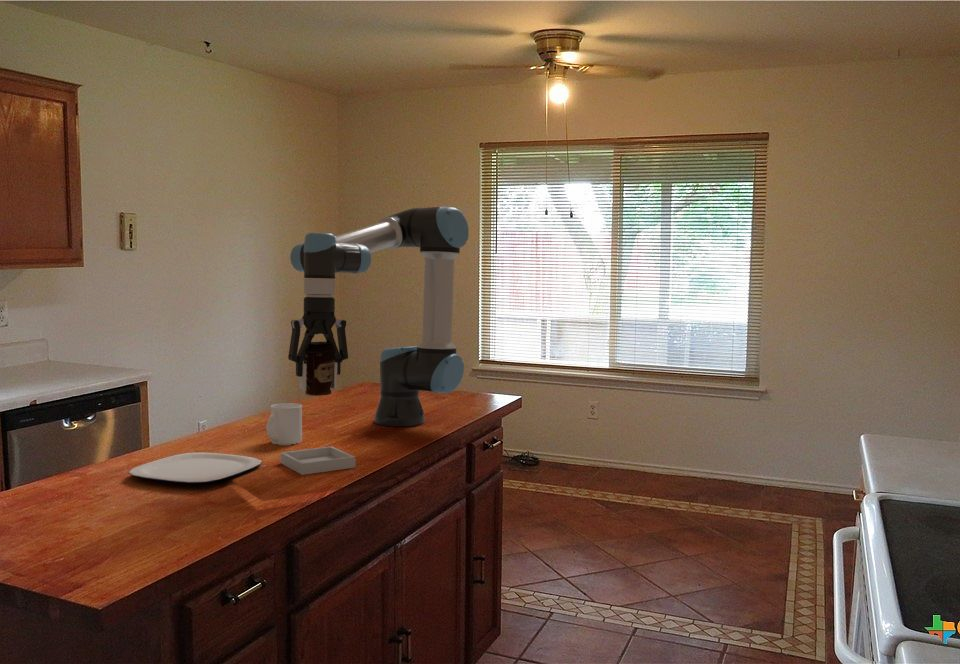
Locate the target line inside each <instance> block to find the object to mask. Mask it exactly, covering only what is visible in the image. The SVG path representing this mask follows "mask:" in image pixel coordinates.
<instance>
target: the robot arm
mask: <svg viewBox="0 0 960 664" xmlns="http://www.w3.org/2000/svg"><path fill="white" fill-rule="evenodd" d="M469 234H470V231H469V224H468V221H467V218H466V217H465V215H464V213H463V212H462V211H461V210H459V208H456V207H452V206H433V207H414V208H409V209H405V210H403V211H399V212H397V213H394V214H391V215H388V216H385V217H382V218H380V219H379V221H378V222H377V223H373V224H371V225H368V226H364V227H361V228H357V229H353V230H351V231H348V232H344V233H342V234H341V233H340V234H338V235H335V234H333V233H331V232H330V233H329V232H328V233H327V232H308V233H307V234H306V235H305V236H304V243H298V244H296V245H294V247H292V249H291V252H290V256H289V257H290V258H289V259H290V262H291V263H290V264H291V266H292V268H293V269H294V270H295V271H297V272H302V273H303V294H304V295H306V296H304V298H303V316H302V318H300V319H292V320H291V321H290V324H291V325H290V326H291V336H290V343H289V348H288V349H289V350H288V356H287V358H288V360H289V361H292V362H294V363H295V376H296V377H298V378H299V379H298V380H299V381H298V384H299V386H298V389H299V390H301V391H306V364H305V363H304V359H305V356H306V352H305V351H306V349H307V348H308V346H310V345H308V344H311V342H313V339H314V337H315V335H320V334H321V335H323V337H324V338H325V342H328V343H333V346H334V347H335V348H336V351H335V353H334V355H335V356H334V370H333V381H332V384H331V388H330V389H333V390H336V389H337V390H338V376H339V375H341V372H342V370H341V365H342V364H341V363H342V362H343V361H344V360H348V359H349V351H348V345H347V344H348V343H347V335H346V328H347V321H346V319H338V318H336V315H335V310H336V307H335V306H336V303H335V302H336V300H335V297H334V296H335V294H336V273H339V274H362V273H366V271H368V269H369V268H370V266H371V264H372V254H373V253H377V252H378V251H381V250H384V249H388V250H395V249H399V248H419V254H420V255H421V256H422V257H423V258H424V276H423V305H422V307H423V309H422V310H423V311H422V334H421V335H422V336H421V337H422V340H421V341H420V343H418V344H417V345H410V346H409V345H408V346H400V347H390V348H384V349H383V350H382V351H381V353H380V360H379V365H380V366H379V367H380V368H379V373H380V375H379V376H380V380H379V381H380V384H379V385H380V396H379V397H380V398H379V400H378V404H377V407H376V411H375V413H374V423H375V424H376V425H380V426H385V427H414V426H419V425H421V424H424V423H425V412H424V409H423V406H422V402H421V399H420V395H419V394H420V392H419V391H422V392H428V393H429V392H430V393H434V394H449V393H450V394H451V393H452V392H454V391H455V390H456V389H457V388H458V386H460V384H461V382H462V380H463V376H464V374H465V373H464V372H465V363H464V361H463V359H462V358H463V357H461V356H460V355H459V354H457V346H456V345H455V344H454V343H453V340H452V338H453V337H452V335H453V309H454V307H453V305H454V304H453V302H454V277H455V276H454V274H455V260H456V258H458V256H459V255H460V254H461V252H460V251H461V248H462V247H464V246H465V245H466V244H467V241H468V240H469ZM334 325H335V327H336V337H337V342H338V345H337V343H336V340H335V338H334V333H333V332H334V331H333V329H332V328H333V326H334ZM303 326H305V328H306V329H305V332H304V336H303V339H302V342H301V344H300V337H301V329H302V327H303ZM299 344H300V345H299ZM299 346H300V347H299Z"/></svg>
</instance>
